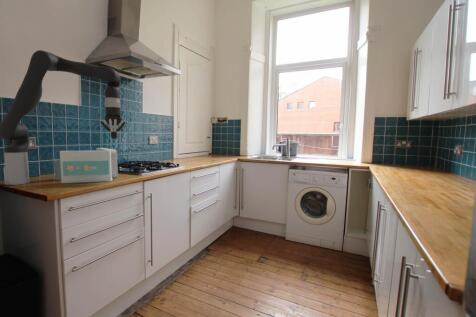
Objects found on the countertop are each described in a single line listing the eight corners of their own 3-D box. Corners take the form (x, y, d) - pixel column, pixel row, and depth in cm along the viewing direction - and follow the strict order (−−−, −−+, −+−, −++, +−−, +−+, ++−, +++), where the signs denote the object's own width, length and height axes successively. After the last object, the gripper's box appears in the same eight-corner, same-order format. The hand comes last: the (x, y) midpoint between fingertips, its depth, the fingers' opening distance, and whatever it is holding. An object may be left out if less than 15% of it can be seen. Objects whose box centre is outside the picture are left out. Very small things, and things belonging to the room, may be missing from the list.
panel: (63, 176, 129) (62, 161, 128) (64, 175, 130) (63, 161, 129) (109, 174, 135) (108, 160, 135) (109, 174, 137) (109, 160, 136)
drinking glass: (75, 177, 153) (74, 158, 152) (74, 179, 145) (73, 160, 144) (55, 178, 148) (54, 159, 147) (53, 181, 140) (52, 160, 138)
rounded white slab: (121, 177, 155) (120, 149, 153) (108, 179, 149) (107, 150, 148) (108, 172, 175) (107, 147, 173) (96, 173, 170) (95, 147, 168)
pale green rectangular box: (55, 185, 127) (53, 152, 125) (64, 181, 139) (62, 150, 137) (108, 183, 135) (106, 151, 133) (112, 179, 147) (111, 150, 145)
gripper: (97, 105, 126) (98, 138, 127) (125, 106, 129) (126, 139, 131) (101, 107, 133) (102, 138, 134) (127, 108, 137) (128, 138, 138)
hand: (114, 138), depth 133 cm, fingers closed
